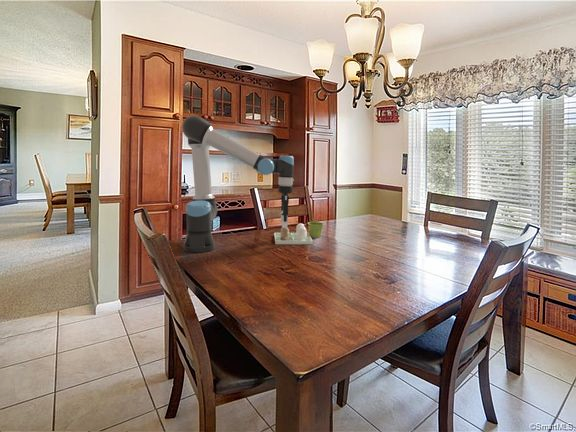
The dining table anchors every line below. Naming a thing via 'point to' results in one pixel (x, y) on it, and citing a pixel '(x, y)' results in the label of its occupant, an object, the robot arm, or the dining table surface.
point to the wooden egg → (284, 234)
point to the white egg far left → (298, 228)
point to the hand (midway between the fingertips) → (283, 225)
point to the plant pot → (315, 229)
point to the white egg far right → (302, 234)
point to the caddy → (292, 239)
